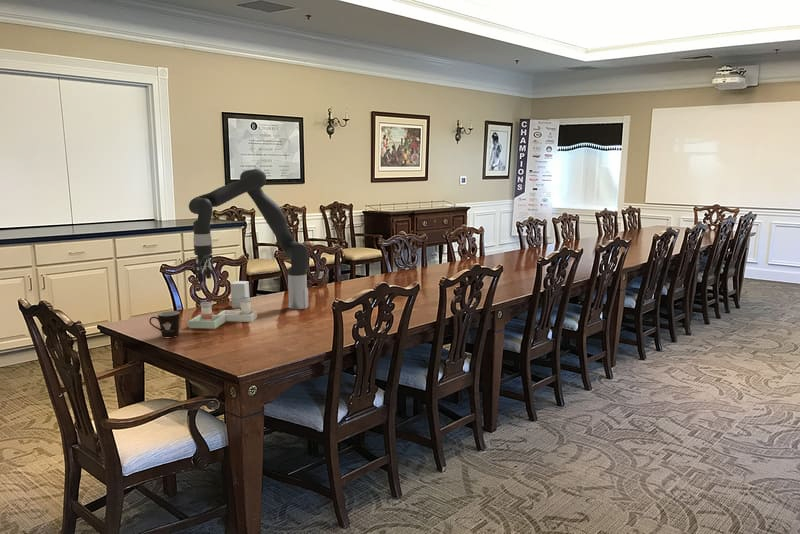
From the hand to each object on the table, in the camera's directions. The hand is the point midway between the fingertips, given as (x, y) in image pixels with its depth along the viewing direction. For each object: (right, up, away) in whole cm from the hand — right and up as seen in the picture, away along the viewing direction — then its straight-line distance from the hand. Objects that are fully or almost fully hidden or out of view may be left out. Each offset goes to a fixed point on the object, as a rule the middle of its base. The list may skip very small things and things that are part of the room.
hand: (204, 280), depth 274 cm
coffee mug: (-13, -24, -11) cm, 29 cm away
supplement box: (+5, -15, +43) cm, 46 cm away
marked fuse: (0, -20, +3) cm, 20 cm away
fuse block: (+11, -19, +13) cm, 26 cm away
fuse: (+15, -18, +13) cm, 27 cm away
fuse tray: (0, -21, +4) cm, 21 cm away
